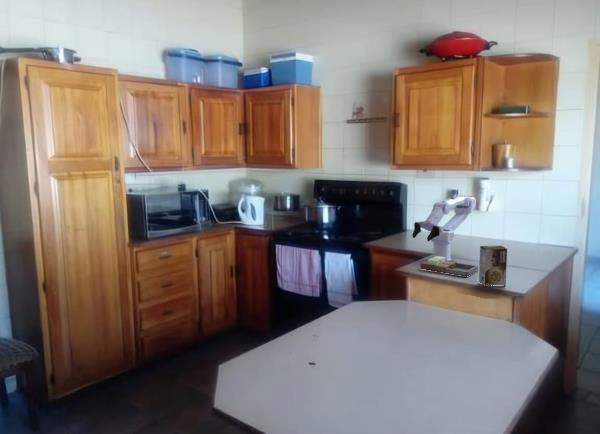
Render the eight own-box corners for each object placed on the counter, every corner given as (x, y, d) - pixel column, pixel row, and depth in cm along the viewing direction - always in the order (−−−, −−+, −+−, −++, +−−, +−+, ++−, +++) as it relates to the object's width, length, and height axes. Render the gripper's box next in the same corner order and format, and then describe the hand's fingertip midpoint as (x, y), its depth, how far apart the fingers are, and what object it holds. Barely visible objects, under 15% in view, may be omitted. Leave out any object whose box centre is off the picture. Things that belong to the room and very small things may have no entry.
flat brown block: (433, 264, 235) (433, 258, 234) (456, 267, 227) (457, 261, 227) (420, 269, 224) (420, 263, 224) (445, 274, 217) (445, 267, 216)
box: (457, 267, 227) (457, 262, 227) (477, 271, 221) (478, 265, 221) (445, 274, 216) (445, 268, 216) (466, 277, 210) (467, 272, 210)
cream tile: (436, 259, 231) (436, 255, 230) (445, 261, 228) (445, 257, 227) (432, 261, 227) (432, 257, 227) (441, 263, 224) (441, 259, 224)
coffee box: (499, 282, 203) (501, 245, 201) (506, 286, 197) (508, 248, 194) (477, 282, 203) (479, 245, 200) (484, 287, 196) (486, 248, 194)
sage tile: (431, 262, 226) (431, 258, 226) (440, 263, 223) (440, 259, 223) (427, 264, 223) (427, 259, 223) (436, 265, 220) (436, 261, 220)
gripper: (418, 211, 235) (405, 228, 228) (446, 216, 225) (433, 234, 219) (420, 221, 239) (408, 239, 232) (448, 227, 230) (435, 246, 223)
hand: (420, 238), depth 226 cm, fingers open, 7 cm apart
